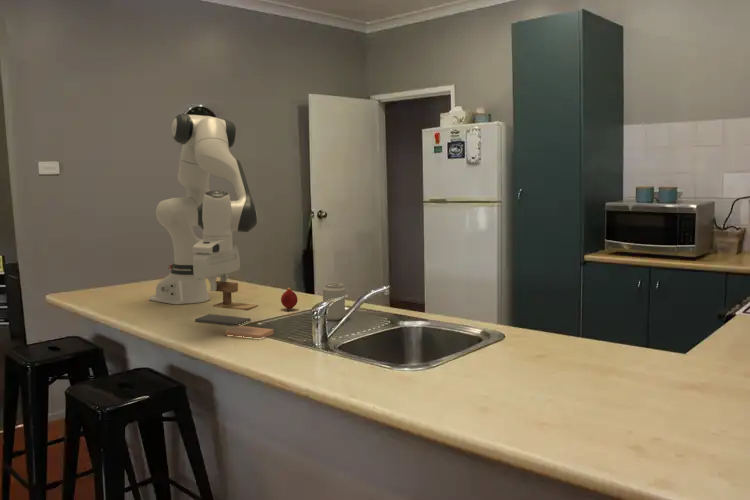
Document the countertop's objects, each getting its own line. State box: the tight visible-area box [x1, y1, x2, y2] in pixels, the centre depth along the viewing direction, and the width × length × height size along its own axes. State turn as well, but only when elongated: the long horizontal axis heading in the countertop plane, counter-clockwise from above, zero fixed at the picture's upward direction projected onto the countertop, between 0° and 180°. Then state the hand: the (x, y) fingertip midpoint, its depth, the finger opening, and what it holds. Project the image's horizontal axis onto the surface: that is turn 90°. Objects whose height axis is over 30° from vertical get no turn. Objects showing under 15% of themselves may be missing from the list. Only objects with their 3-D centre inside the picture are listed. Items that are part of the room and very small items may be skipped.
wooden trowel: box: [210, 280, 259, 311], centre depth 197 cm, size 14×6×7 cm, turn 70°
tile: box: [224, 325, 274, 338], centre depth 196 cm, size 2×8×12 cm
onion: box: [280, 287, 298, 310], centre depth 231 cm, size 6×6×8 cm
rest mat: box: [194, 313, 251, 326], centre depth 213 cm, size 16×8×1 cm, turn 70°
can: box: [322, 282, 346, 322], centre depth 218 cm, size 8×8×12 cm
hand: (218, 289), depth 198 cm, fingers closed on wooden trowel, 3 cm apart
